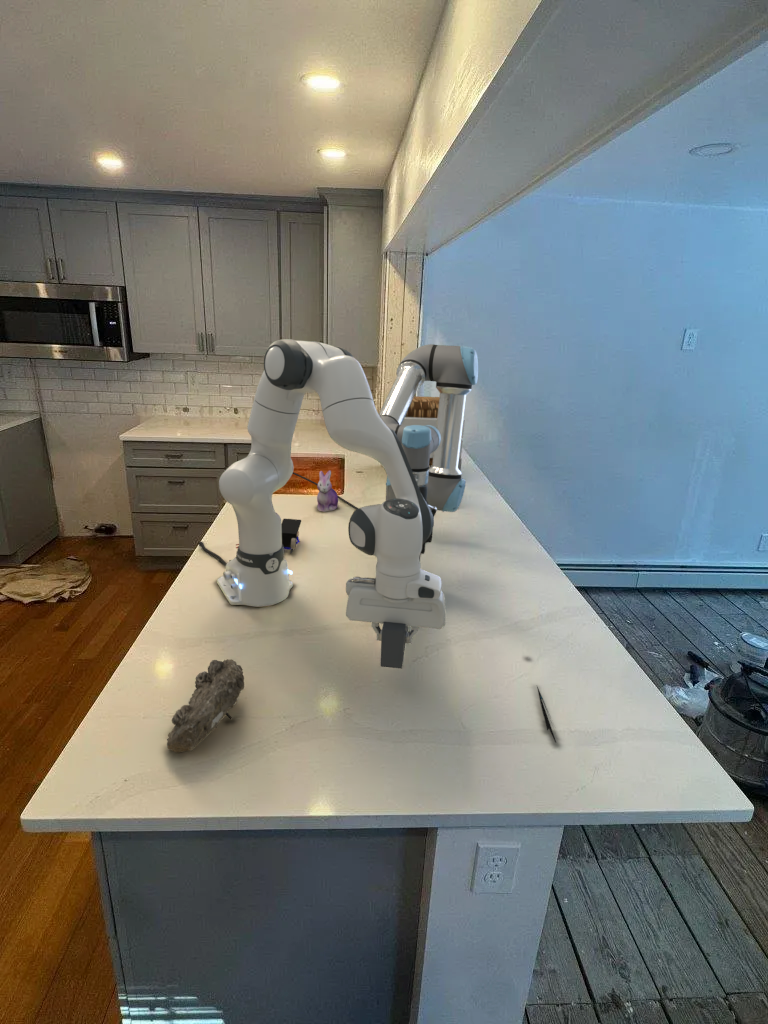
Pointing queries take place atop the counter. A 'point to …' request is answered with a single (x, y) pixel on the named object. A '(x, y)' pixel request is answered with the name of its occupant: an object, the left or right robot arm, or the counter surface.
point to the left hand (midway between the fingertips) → (394, 640)
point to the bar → (393, 644)
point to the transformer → (426, 417)
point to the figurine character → (290, 533)
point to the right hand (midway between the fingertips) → (409, 562)
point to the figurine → (326, 493)
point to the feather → (545, 714)
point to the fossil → (206, 705)
